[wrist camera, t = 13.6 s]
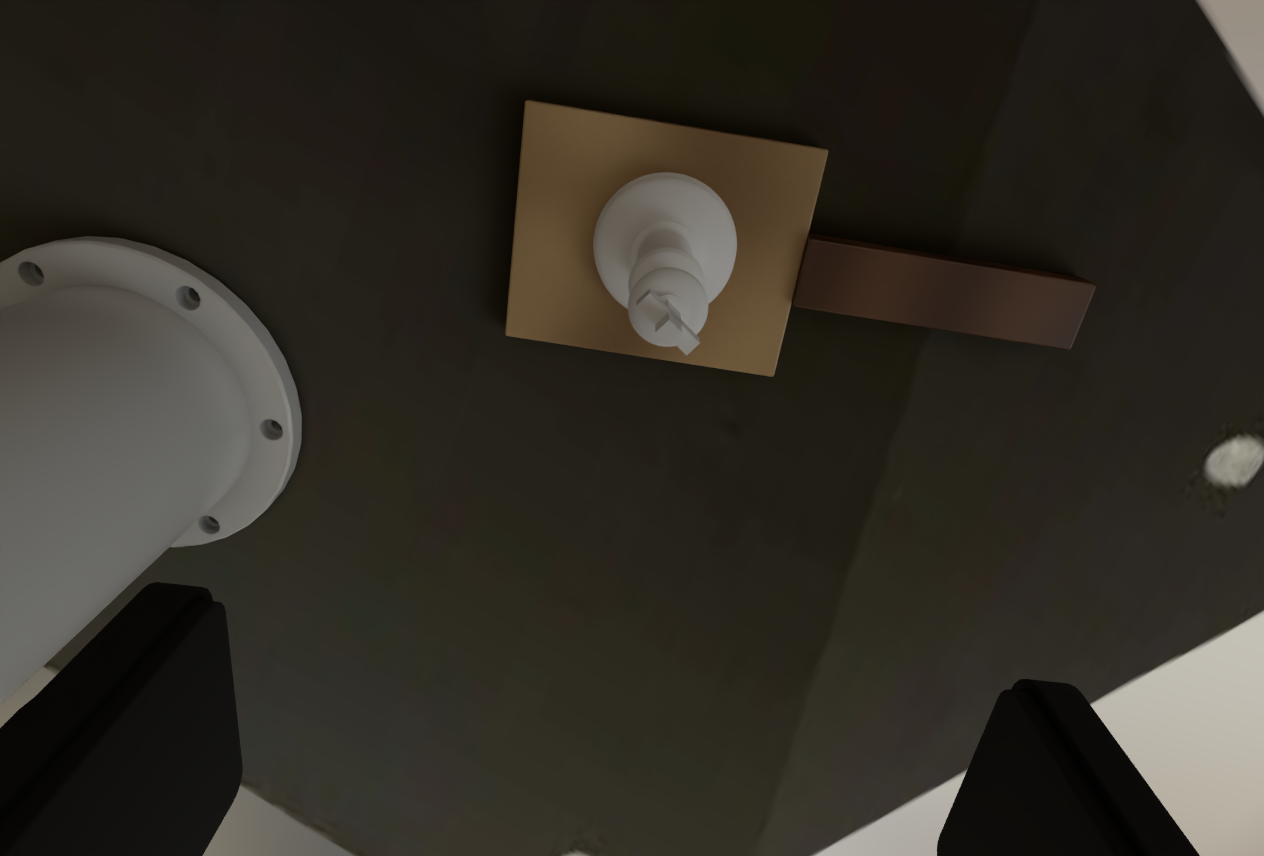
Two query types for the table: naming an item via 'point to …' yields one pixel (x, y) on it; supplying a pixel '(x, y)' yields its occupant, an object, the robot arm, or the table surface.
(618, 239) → the chess piece
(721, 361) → the spatula
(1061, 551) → the table surface
